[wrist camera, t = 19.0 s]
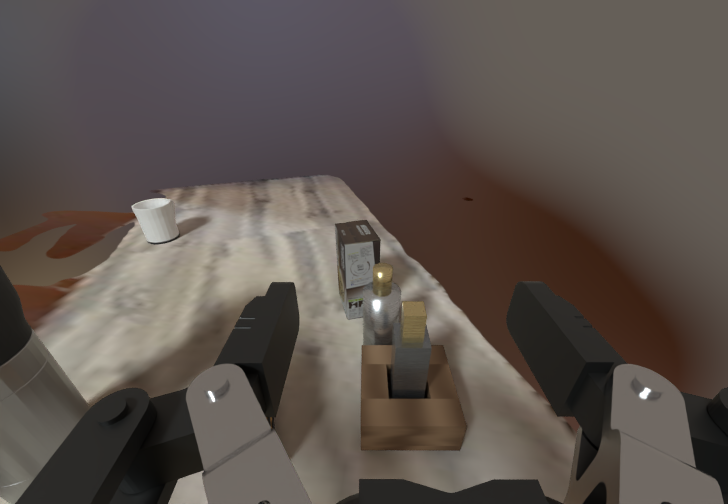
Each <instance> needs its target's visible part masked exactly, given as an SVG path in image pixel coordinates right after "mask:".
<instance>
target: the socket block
mask: <svg viewBox="0 0 728 504" xmlns="http://www.w3.org/2000/svg"><path fill="white" fill-rule="evenodd" d="M431 348H432V349H431V356H430V362H429V369H428V375H427V382H426V388H425V395H424V399H390V369H391V352H392V345H362V369H361V450H460V449H461V445H462V442H463V438H464V435H465V431H466V428H467V425H466V422H465V419H464V415H463V412H462V408H461V405H460V401H459V398H458V395H457V391H456V388H455V384H454V381H453V378H452V374H451V371H450V367H449V364H448V361H447V357H446V354H445V350H444V347H443V345H431Z"/></svg>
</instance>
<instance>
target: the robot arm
mask: <svg viewBox="0 0 728 504" xmlns="http://www.w3.org/2000/svg"><path fill="white" fill-rule="evenodd" d="M506 319H507V327H508V330H509V332H510V334H511V336H512V338H513V339H514V341H515V343H516V345H517V346H518V348H519V350H520V352H521V353H522V355H523V357H524V359H525V360H526V362H527V364H528V365H529V367H530V369H531V371H532V373H533V374H534V376H535V378H536V379H537V381H538V383H539V385H540V386H541V388H542V390H543V392H544V394H545V395H546V397H547V399H548V401H549V402H550V404H551V406H552V408H553V409H554V411H555V413H556V415H557V416H572V417H573V416H574V417H575V418H576V420H577V421H578V423H579V425H580V427H579V429H578V431H577V437H576V444H575V450H574V457H573V464H572V470H571V477H570V484H569V489H568V492H567V495H566V498H565V500H564V503H563V504H728V387H727V388H724V389H722V390H721V391H720V392H719V393H718V394H717V395H716V396H715V397H714V398H713V399H707V398H704V397H700V396H696V395H692V394H687V393H683V392H679V391H678V389H677V388H676V387H675V386H674V385H673V384H672V383H670V382H669V381H668V380H666V379H665V378H664V377H662V376H661V375H659V374H657V373H655V372H653V371H651V370H649V369H647V368H644V367H641V366H637V365H632V364H627V363H626V362H625V361H624V360H623V358H622V357H621V356H620V355H619V354H618V353H617V352H616V351H615V350H614V349H613V348H612V347H611V346H610V345H609V344H608V342H606V340H605V339H604V338H603V337H602V336H601V335H600V334H599V333H598V331H597V330H596V329H595V328H592V325H591V324H590V323H589V322H588V321H587V320H586V319H584V317H583V315H582V314H581V313H580V312H579V311H578V310H577V309H576V308H575V307H574V305H572V304H570V303H569V302H567V301H566V300H564V299H563V298H561V297H560V296H556V295H555V294H554V293H553V292H552V291H551V290H550V289H549V287H548V286H547V285H546V284H545V283H544V282H518V283H517V285H516V286H515V289H514V293H513V296H512V299H511V303H510V306H509V309H508V312H507V318H506ZM298 331H299V310H298V303H297V296H296V289H295V285H294V283H293V282H272V283H271V285H270V287H269V289H268V291H267V293H266V295H265V296H256V297H255V298H254V299H253V300H252V301H251V302H250V303H248V304H247V305H246V306H245V308H244V310H243V312H242V314H241V316H240V319H239V320H238V321H237V323H236V325H235V329H233V331H232V333H231V334H230V336H229V338H228V340H227V342H226V344H225V346H224V348H223V349H222V351H221V353H220V355H219V357H218V359H217V361H216V363H215V365H214V366H213V367H211V368H209V369H207V370H205V371H203V372H202V373H201V374H199V375H198V376H197V377H196V378H195V379H194V380H193V381H192V383H191V384H190V386H189V387H188V388H185V389H183V390H180V391H177V392H173V393H169V394H165V395H162V396H158V397H154V398H151V399H150V397H149V396H148V394H147V392H145V391H144V390H142V389H139V388H128V389H123V390H120V391H117V392H115V393H112V394H110V395H108V396H106V397H105V398H103V399H102V400H100V401H99V402H97V403H96V404H95V405H93V406H92V407H90V406H89V405H88V403H87V402H86V400H85V399H84V398H83V396H82V395H81V394H80V392H79V391H78V390H77V388H76V387H75V386H74V384H73V383H72V382H71V380H70V379H69V378H68V376H67V375H66V374H65V372H64V371H63V369H62V368H61V367H60V365H59V364H58V363H57V361H56V360H55V359H54V357H53V356H52V355H51V353H50V352H49V351H48V349H47V348H46V347H45V346H44V344H43V343H42V341H41V340H40V339H39V337H38V336H37V335H36V333H35V332H34V331H33V329H32V328H31V327H30V325H29V324H28V323H27V321H26V320H25V317H24V314H23V310H22V305H21V302H20V298H19V296H18V294H17V292H16V290H15V288H14V287H13V285H12V284H11V282H10V280H9V279H8V277H7V275H6V274H5V272H4V271H3V269H2V267H1V266H0V496H1V497H2V498H3V499H5V500H6V501H7V502H9V503H12V504H168V502H169V500H170V497H171V495H172V493H173V490H174V488H175V485H176V483H177V481H178V479H180V478H183V477H186V476H188V475H191V474H194V473H197V472H200V471H203V470H204V472H203V473H202V478H203V484H204V488H205V492H206V496H207V500H208V504H312V503H311V501H310V499H309V497H308V495H307V493H306V491H305V489H304V487H303V485H302V483H301V481H300V479H299V477H298V475H297V473H296V471H295V469H294V467H293V465H292V463H291V461H290V459H289V457H288V455H287V453H286V451H285V449H284V446H283V444H282V442H281V440H280V438H279V436H278V435H277V433H276V431H275V430H274V429H273V428H271V427H270V425H269V423H268V421H267V419H266V417H276V414H277V410H278V406H279V402H280V399H281V395H282V391H283V387H284V384H285V380H286V376H287V372H288V369H289V365H290V361H291V357H292V354H293V350H294V346H295V342H296V339H297V335H298ZM336 504H562V503H561V502H558V501H556V500H554V499H551V498H549V497H546V496H545V495H544V493H543V491H542V489H541V486H540V484H539V482H538V480H491V481H488V482H485V483H482V484H479V485H476V486H473V487H470V488H467V489H464V490H462V491H459V492H455V493H447V492H443V491H440V490H437V489H433V488H430V487H427V486H424V485H420V484H417V483H414V482H410V481H407V480H404V479H359V493H358V494H355V495H352V496H349V497H347V498H345V499H343V500H341V501H339V502H338V503H336Z"/></svg>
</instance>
